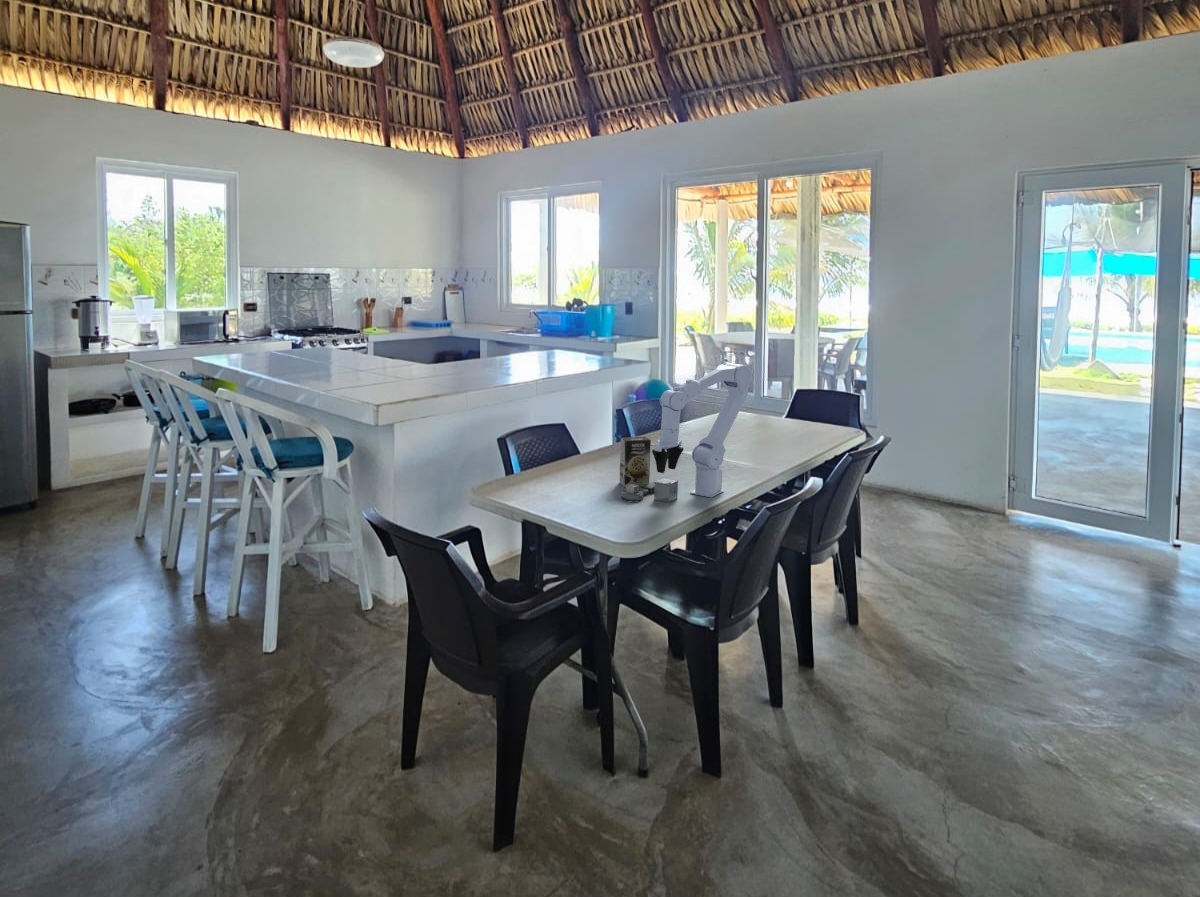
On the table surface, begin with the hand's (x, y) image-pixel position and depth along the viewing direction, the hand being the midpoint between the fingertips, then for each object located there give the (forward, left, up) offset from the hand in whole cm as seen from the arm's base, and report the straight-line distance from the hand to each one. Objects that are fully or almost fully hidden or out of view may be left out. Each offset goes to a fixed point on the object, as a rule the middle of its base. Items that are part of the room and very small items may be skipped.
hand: (666, 470), depth 248 cm
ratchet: (-1, -9, -10) cm, 13 cm away
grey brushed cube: (-1, 0, -10) cm, 10 cm away
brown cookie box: (-10, -18, -10) cm, 23 cm away
